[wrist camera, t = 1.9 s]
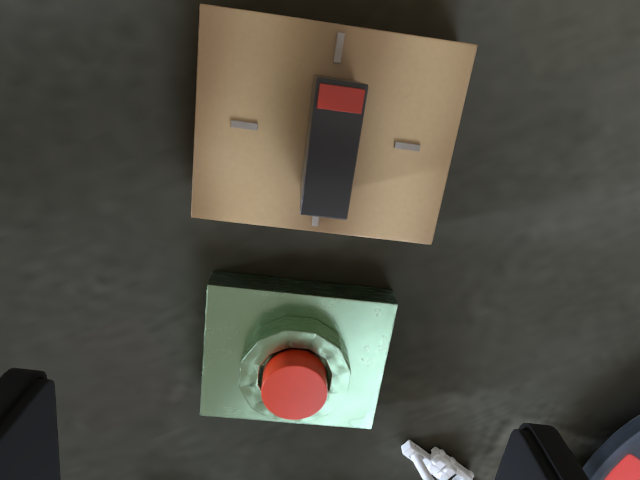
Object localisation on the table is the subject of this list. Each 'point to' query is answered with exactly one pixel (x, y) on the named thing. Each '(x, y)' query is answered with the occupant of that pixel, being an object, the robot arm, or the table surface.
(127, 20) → the table surface
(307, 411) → the power button
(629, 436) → the electronic game
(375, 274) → the table surface
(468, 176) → the table surface
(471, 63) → the panel
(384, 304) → the switch box
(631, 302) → the table surface
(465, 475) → the white plastic frame
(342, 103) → the dimmer knob
